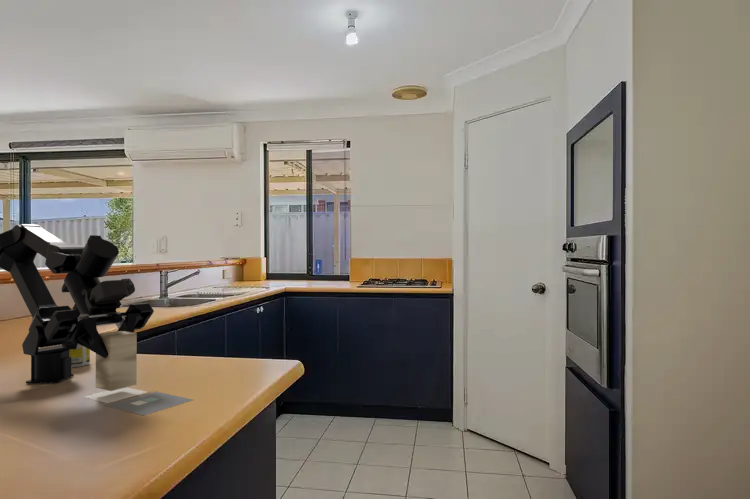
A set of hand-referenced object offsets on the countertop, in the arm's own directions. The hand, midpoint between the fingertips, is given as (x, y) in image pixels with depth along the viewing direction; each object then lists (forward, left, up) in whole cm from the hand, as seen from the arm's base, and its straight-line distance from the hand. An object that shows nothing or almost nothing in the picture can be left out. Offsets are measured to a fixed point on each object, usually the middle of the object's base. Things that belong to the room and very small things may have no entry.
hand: (120, 354), depth 90 cm
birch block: (-1, +1, -6) cm, 6 cm away
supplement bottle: (-25, +29, -8) cm, 39 cm away
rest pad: (-1, +1, -8) cm, 8 cm away
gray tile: (+8, -5, -8) cm, 12 cm away
